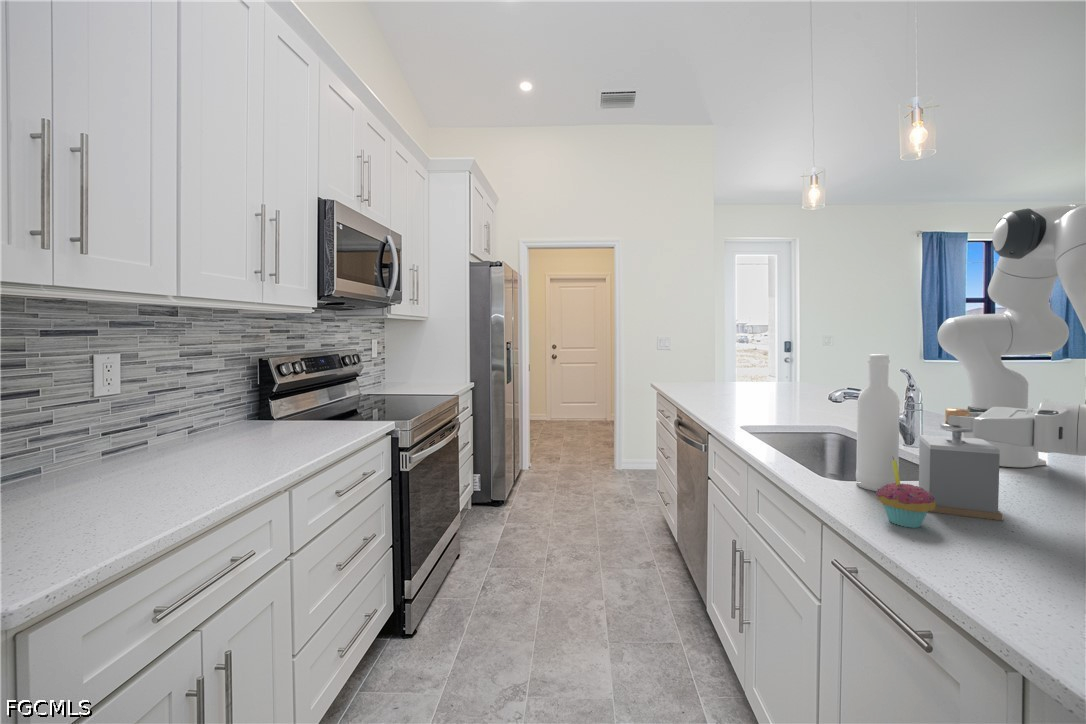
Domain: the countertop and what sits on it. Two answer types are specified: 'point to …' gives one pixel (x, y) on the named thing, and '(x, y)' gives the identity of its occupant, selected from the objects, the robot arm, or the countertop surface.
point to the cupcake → (905, 502)
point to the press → (960, 476)
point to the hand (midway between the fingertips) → (951, 417)
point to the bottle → (877, 428)
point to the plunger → (954, 428)
